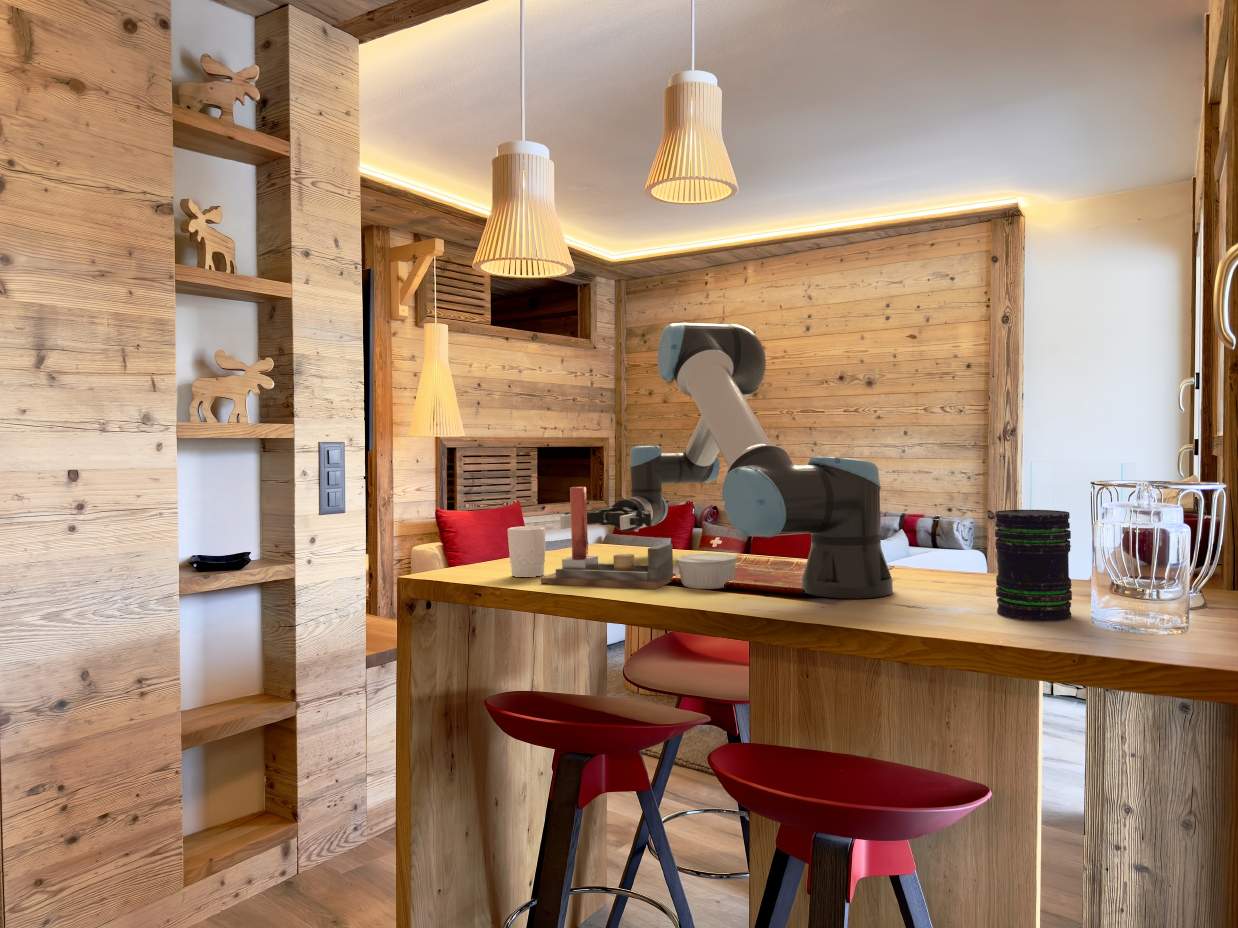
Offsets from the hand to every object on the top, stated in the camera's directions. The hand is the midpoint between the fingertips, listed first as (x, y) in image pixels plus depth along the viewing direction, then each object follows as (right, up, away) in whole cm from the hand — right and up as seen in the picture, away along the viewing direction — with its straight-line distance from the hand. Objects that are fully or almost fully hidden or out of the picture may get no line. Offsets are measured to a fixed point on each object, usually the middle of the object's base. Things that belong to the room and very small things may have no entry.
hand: (591, 522), depth 165 cm
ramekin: (+22, -11, -15) cm, 29 cm away
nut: (+7, -10, -10) cm, 15 cm away
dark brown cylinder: (+66, -10, -48) cm, 82 cm away
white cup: (-13, -11, +2) cm, 18 cm away
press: (+4, -11, -8) cm, 14 cm away
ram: (-2, -10, -6) cm, 11 cm away
